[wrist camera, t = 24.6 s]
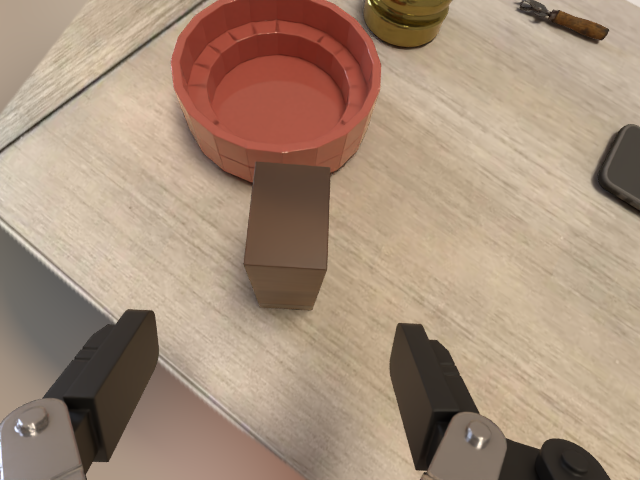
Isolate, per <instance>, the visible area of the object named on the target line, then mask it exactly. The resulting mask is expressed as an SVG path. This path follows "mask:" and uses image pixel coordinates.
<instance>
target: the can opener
mask: <svg viewBox="0 0 640 480" xmlns="http://www.w3.org/2000/svg"><path fill="white" fill-rule="evenodd" d="M524 1H525V2H528V3H529V4H530V5H531V6H532V7H522V6H521V5H520V10H525V11H527V10H534V11H537V12H540V14H538V13H535V12H534V14H535V15H537V16H540V17H546V16H549V18H548V19H549V20H551V21H552V22H554V23H557V24H559V25H562V26H566V27H568V28H570V29H572V30H574V31H576V32H578V33H580V34H583V35H585V36H588V37H591V38H594V39H598V40H603V39H604V38H605V37H606V35H607V34H608V32H609V29H608V28H606V27H604V26H602V25H600V24H597V23H594V22H592V21H589V20H585V19H582V18H578V17H574V16H572V15H570V14H567V13H565V12H562V11H560V10H553V11H552V12H550V11H548V10H547V9H546V7H545V6H544V5H543V4H541V3H539V2H537V1H534V0H522V2H521V4H522V3H523V2H524ZM534 5H535V6H534Z"/></svg>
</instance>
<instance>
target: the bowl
mask: <svg viewBox="0 0 640 480" xmlns="http://www.w3.org/2000/svg"><path fill="white" fill-rule="evenodd" d="M171 70H172V78H173V86H174V90H175V93H176V95H177V98H178V101H179V103H180V106H181V108H182V111H183V113H184V116H185V118H186V121H187V124H188V126H189V129H190V131H191V133H192V134H193V136H194V138H195V140H196V142H197V143H198V145H199V147H200V149H201V150H202V152H203V153H204V154H205V155H206V156H207V157H209V158H210V159H211V160H212V161H213V162H214V163H216V164H217V165H218V166H219V167H220V168H221V169H223V170H224V171H226V172H228V173H231V174H233V175H235V176H238V177H240V178H242V179H245V180H247V181H249V182H253V177H254V169H255V162H256V161H258V162H270V163H283V164H296V165H309V166H322V167H330V168H331V170H330V173H331V172H333V171H335V170H337V169H339V168H340V167H341V166H342V165H343V164H344V163H345V162H346V161H347V160H348V159H349V158H350V157H351V156H352V155H353V154H354V153H355V152H356V151H357V150H358V148H359V146H360V144H361V142H362V140H363V138H364V135H365V133H366V131H367V129H368V126H369V123H370V119H371V116H372V113H373V110H374V107H375V104H376V101H377V98H378V95H379V92H380V81H381V63H380V60H379V57H378V54H377V51H376V49H375V46H374V43H373V41H372V39H371V38H370V37H369V35H368V34H367V33H366V31H365V30H364V29H363V28H362V26H361V25H360V24H359V23H358V21H357V20H356V19H355V18H353V17H352V16H350V15H349V14H348V13H346V12H345V11H343V10H342V9H341V8H339V7H338V6H336V5H335V4H333V3H331V2H328V1H326V0H219V1H216V2H215V3H213V4H211V5H210V6H208V7H207V8H205V9H204V10H202V11H201V12H199V13H198V14H196V15H195V16H194V17H193V18H192V20H191V21H190V22H189V24H188V25H187V26H186V27H185V29H184V30H183V31H182V32H181V34H180V35H179V37H178V39H177V42H176V45H175V49H174V52H173V55H172V59H171Z"/></svg>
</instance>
